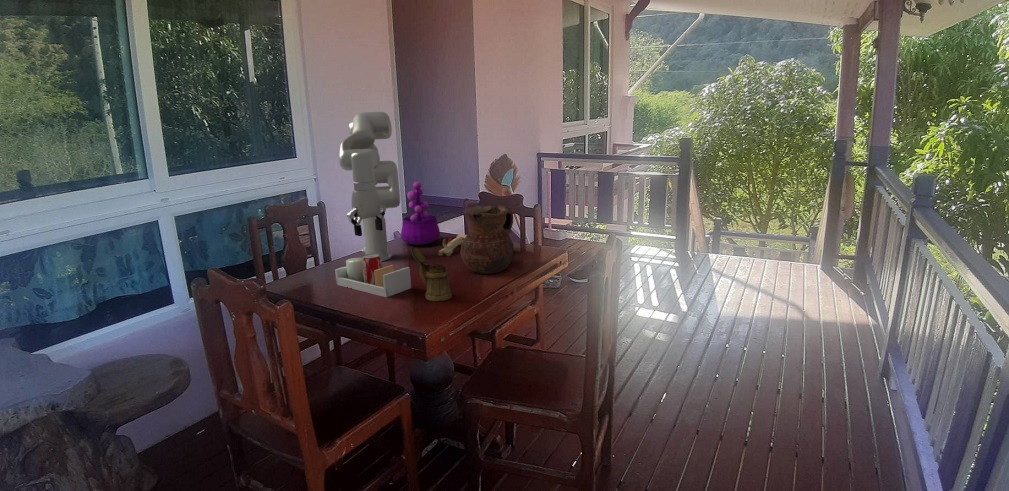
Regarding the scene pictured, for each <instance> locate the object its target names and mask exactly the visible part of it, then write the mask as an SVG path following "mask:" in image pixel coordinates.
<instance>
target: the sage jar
mask: <svg viewBox="0 0 1009 491" xmlns="http://www.w3.org/2000/svg"><path fill="white" fill-rule="evenodd" d="M362 261H363V257H353V258H352V257H351V258H348V259H346V260H345V265H346V267H347V276H348V279H350V280H355V281H359V282H363V283H364V275H363V264H362Z"/></svg>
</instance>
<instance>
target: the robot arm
mask: <svg viewBox="0 0 1009 491" xmlns="http://www.w3.org/2000/svg"><path fill="white" fill-rule="evenodd" d="M392 129H393V128H392V122H391V119H390V116H389V115H388V114H387V113H386V112H384V111H370V112H369V111H367V112H365V111H362V112H359V113H357V114H355V116H354V117H353V119H352V121H350V122H349V124H348V131H349V135H348V136H347V137H346V138H344V139H343V140H342V142H341V144H340V145H339V152H338V153H339V154H338V155H339V156H338V160H339V161H338V162H339V165H340V167H341V169H342V170H344V171H351V172H352V179H353V180H352V181H353V191H352V192H351V193H352V194H351V210H350V211H349V212H348V213H347V214H346V218H347V219H348V221H349V222H350V223H351V224H352V226H353V230H354V231H353V232H354V236H357V237H362V236H363V237H364V246H365V247H363V248H362V249H361V252H362V253H364V255H367V254H379V257H380V258H381V260H382V262H386V261H388V260H391V259H392V257H393V255H392V253H390V252H389V250H388V249H389V248H388V237H387V226H386V225H387V224H386V218H385V215H386V211H387V209H393V208H398V207H399V206H400V204H401V191H400V182H399V181H400V180H399V172H398V166H397V164H396V163H395V161H393V160H380V159H381V158H380V154H379V153H380V152H379V149H378V147H377V146H376V144H374V143H375V141H376V140H388V139H390V138H391V136H392V133H393V132H392V131H393V130H392ZM378 184H388V185H385V186H384V185H382V186H377V185H378ZM361 222H362V225H361ZM362 226H363V227H362ZM362 228H363V230H362ZM362 231H363V232H362ZM364 255H363V256H362V258H364Z"/></svg>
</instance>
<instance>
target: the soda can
mask: <svg viewBox="0 0 1009 491" xmlns="http://www.w3.org/2000/svg"><path fill="white" fill-rule="evenodd" d="M363 256H364V258H363V257H362V258H363V261H362V264H363V275H364V283H367V284H371V285H375V275H374V270H377V269H380V268H383V261H382V260H381V258H380V257H379V254H367V255H365V254H364V255H363Z"/></svg>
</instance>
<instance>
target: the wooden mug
mask: <svg viewBox="0 0 1009 491" xmlns="http://www.w3.org/2000/svg"><path fill="white" fill-rule="evenodd" d="M411 256H412V257H413V258H414V260H415V261H416V262H417V263H418V264H420V266H419V268H418V274H419V277H420V279H421V281H422V283H423V284H424V286H425V289H426V290H425V291H426V292H425V299H426V300H427V301H430V302H445V301H448V300H450V299H451V298H453V293H452V291H451V287H450V282H449V277H448V276H449V275H448V274H449V273H448V270H447V267H446V265H445V264H434V265H432V266H431V265H430V264H429V263H427V262H426V256H425V254H424V253H423V252H422V251H421V250H420V249H418V248H417V247H415V246H411ZM425 272H426V276H425Z"/></svg>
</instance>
